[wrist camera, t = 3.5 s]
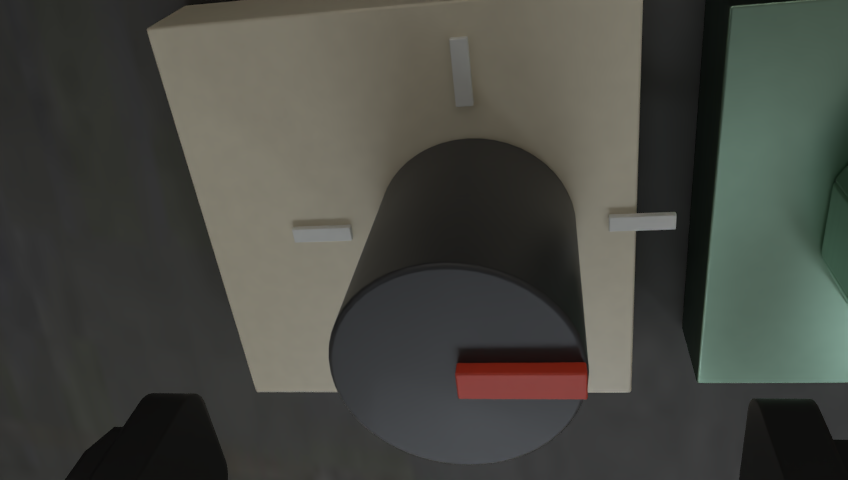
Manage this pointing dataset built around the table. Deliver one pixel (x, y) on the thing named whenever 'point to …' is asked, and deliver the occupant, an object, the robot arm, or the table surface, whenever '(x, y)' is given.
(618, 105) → the control panel
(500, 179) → the dial
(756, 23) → the button box
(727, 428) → the table surface
